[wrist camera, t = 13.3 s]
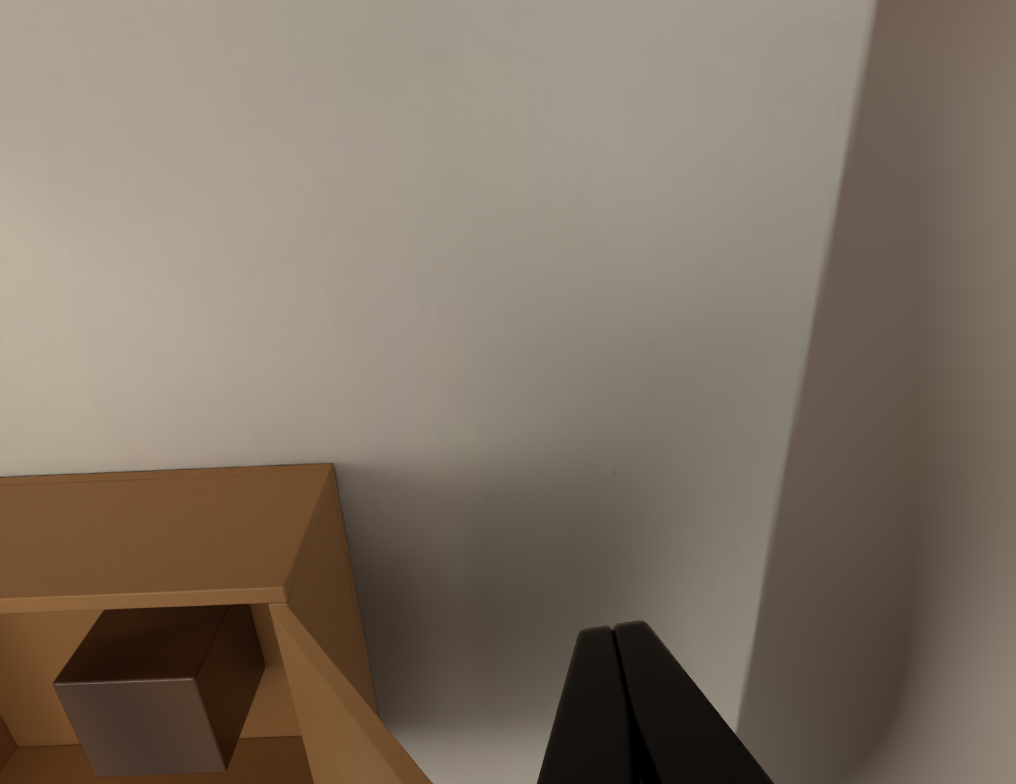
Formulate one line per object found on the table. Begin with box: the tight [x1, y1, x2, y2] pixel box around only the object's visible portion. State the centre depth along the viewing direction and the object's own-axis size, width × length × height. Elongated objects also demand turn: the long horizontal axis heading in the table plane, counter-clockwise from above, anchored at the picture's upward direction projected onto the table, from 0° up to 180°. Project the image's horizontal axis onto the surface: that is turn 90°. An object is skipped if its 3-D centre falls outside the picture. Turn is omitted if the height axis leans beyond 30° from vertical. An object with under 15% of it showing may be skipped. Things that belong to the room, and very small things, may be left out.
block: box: [53, 604, 265, 777], centre depth 22 cm, size 4×4×4 cm
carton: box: [0, 464, 379, 784], centre depth 22 cm, size 14×12×6 cm
